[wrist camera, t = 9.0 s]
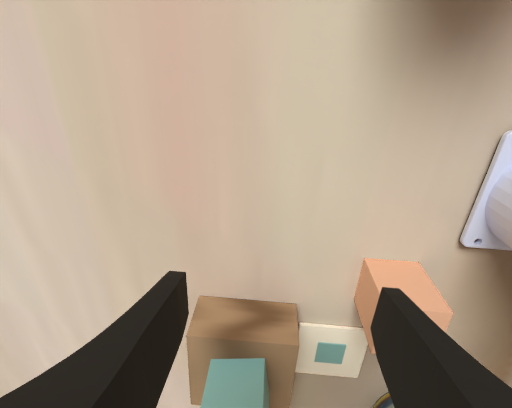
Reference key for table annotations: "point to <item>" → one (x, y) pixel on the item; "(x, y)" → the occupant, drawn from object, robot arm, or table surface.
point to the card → (330, 350)
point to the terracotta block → (406, 279)
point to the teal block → (236, 384)
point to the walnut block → (244, 342)
